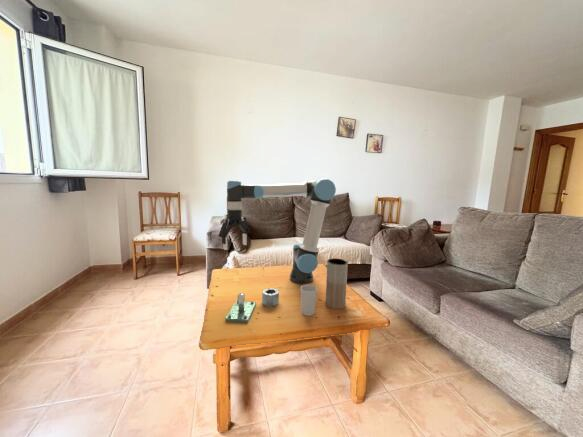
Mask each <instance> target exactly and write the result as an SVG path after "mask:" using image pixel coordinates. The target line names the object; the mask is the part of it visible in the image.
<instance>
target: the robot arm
mask: <svg viewBox="0 0 583 437" xmlns="http://www.w3.org/2000/svg"><path fill="white" fill-rule="evenodd" d="M226 188H227V189H226V196H227V197H226V198H227V203H226V204H227V218H223V219H222V224H221V227H220V230H219V233H218V238H221V243H222V246H223V247H222V250H224V251H227V250H228V249H229V247H228V237H227V236H228V235H229V233H230V232H231V230H232V229H233V228H234V227H236V226H237V227H239V229H240V230H241V231H242V245H244V246H247V244H248V234H249V233H250V232H251V229H250V227H249V225H248V222H247V217H246V216H242V215H243V212H242V207H243V204H242V199H257V200H259V199H263V198H271V197H272V198H273V197H274V198H275V197H302V196H303V197H304V198H310V199H309V202H311V206H310V209H309V215H308V218H307V223H306V227H305V231H304V235H303V239H302V240H303V241H302V243H295V244H294V245H293V246H292V247H293V248H292V252H293V253H292V255H293V256H292V268H291V272H290V274H289V280H290V281H291V282H293V283H296V284H310V283H311V282H313V281H314V275H313V272H314V271H315V270H317V268H318V265H319V264H318V263H319V261H318V256H319V249H318V245H319V240H320V236H321V232H322V228H323V225H324V220H325V219H324V218H325V215H326V211H327V208H328V207H329V206H330V205H331V202H332V199H333V198H334V196H335V195H336V191H337V188H336V185H335V183H334V182H333V181H332V180H331V179H328V178H325V177H324V178H317V179H314V180H308V181H304V182H301V183H298V182H297V183H276V184H275V183H272V184H271V183H269V184H242V181H241V180H228V181H227V183H226Z"/></svg>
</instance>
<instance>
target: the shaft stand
mask: <svg viewBox="0 0 583 437" xmlns="http://www.w3.org/2000/svg"><path fill="white" fill-rule="evenodd" d="M245 295H246V294H245V293H244V292H241V293H237V300H235V302H234V303H233V305H232V306H231V308H230V310H229V312H228V313H227V315H226V317H225V318H224V321H230V322H229V323H240V322H241V323H242V324H243V323H244V324H248V323H249V321H250V319H251V317H252V315H253V313H254V310H255V308H256V306H257V304H256V303H257V302H256V301H245V299H246V298H245V297H246V296H245Z"/></svg>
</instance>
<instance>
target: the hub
mask: <svg viewBox="0 0 583 437" xmlns="http://www.w3.org/2000/svg"><path fill="white" fill-rule="evenodd" d="M261 296H262V298H261V304H262V305H264V306H265V307H268V308H273V307H275V306H278V305H279V302H280V289H278V288H275V287H272V288H271V287H270V288H269V287H268V288H265V289H263V291H262V294H261Z"/></svg>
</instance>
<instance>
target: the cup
mask: <svg viewBox="0 0 583 437" xmlns="http://www.w3.org/2000/svg"><path fill="white" fill-rule="evenodd" d="M299 290H300V306H301V307H300V308H301V309H300V310H301V314H302V315H304V316H314V315H315V312H316V309H315V308H316V304H317V303H316V301H317V294H318V287H317V286H316V285H313V284H303V285H301V286H300V289H299Z"/></svg>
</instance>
